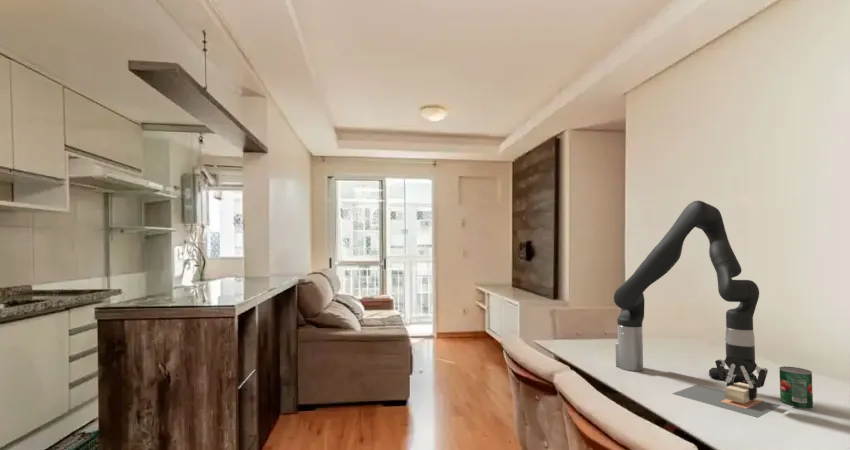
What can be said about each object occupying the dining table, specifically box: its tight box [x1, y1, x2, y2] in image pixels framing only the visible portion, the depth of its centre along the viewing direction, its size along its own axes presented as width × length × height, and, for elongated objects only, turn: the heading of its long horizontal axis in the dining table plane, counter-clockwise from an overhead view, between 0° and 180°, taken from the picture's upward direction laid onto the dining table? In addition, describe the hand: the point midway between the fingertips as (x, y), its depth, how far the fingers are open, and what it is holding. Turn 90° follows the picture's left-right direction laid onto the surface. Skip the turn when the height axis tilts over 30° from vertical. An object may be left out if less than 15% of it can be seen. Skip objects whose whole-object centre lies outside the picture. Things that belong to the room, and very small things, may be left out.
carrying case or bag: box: [708, 367, 758, 384], centre depth 162 cm, size 11×3×15 cm
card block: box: [724, 382, 758, 404], centre depth 138 cm, size 10×5×4 cm, turn 124°
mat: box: [671, 383, 782, 419], centre depth 140 cm, size 24×18×1 cm
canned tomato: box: [778, 366, 814, 411], centre depth 136 cm, size 8×8×11 cm
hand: (741, 396), depth 138 cm, fingers closed on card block, 5 cm apart
